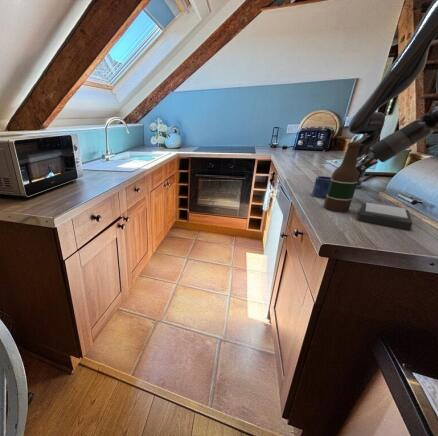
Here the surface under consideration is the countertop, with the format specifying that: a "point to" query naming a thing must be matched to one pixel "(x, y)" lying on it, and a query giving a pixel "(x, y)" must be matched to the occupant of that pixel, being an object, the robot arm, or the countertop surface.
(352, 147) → the beer bottle
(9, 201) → the countertop surface
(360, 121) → the robot arm
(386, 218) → the kitchen scale
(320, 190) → the blue pot
